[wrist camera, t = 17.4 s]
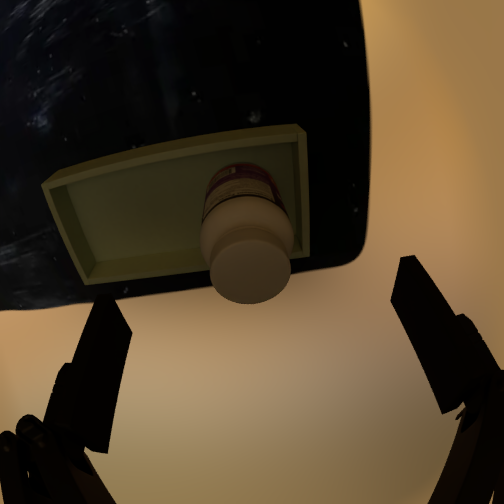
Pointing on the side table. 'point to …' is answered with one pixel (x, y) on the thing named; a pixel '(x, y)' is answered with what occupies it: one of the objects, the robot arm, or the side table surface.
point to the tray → (167, 200)
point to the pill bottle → (246, 234)
